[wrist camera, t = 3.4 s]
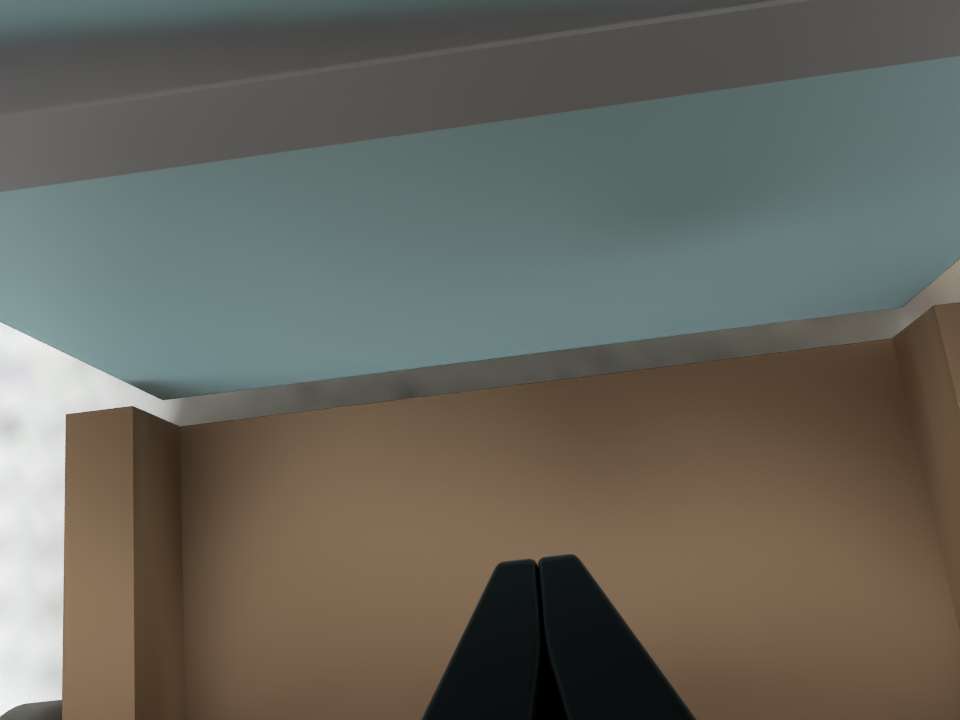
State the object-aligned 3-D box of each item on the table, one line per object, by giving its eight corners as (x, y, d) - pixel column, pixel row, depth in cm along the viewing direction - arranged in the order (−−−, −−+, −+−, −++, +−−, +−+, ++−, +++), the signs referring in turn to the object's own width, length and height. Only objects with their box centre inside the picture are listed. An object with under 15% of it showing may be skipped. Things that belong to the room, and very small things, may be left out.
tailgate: (903, 309, 17) (1366, -81, 7) (163, 402, 18) (-330, 167, 8) (883, 228, 17) (1297, -246, 7) (161, 323, 18) (-309, 10, 8)
